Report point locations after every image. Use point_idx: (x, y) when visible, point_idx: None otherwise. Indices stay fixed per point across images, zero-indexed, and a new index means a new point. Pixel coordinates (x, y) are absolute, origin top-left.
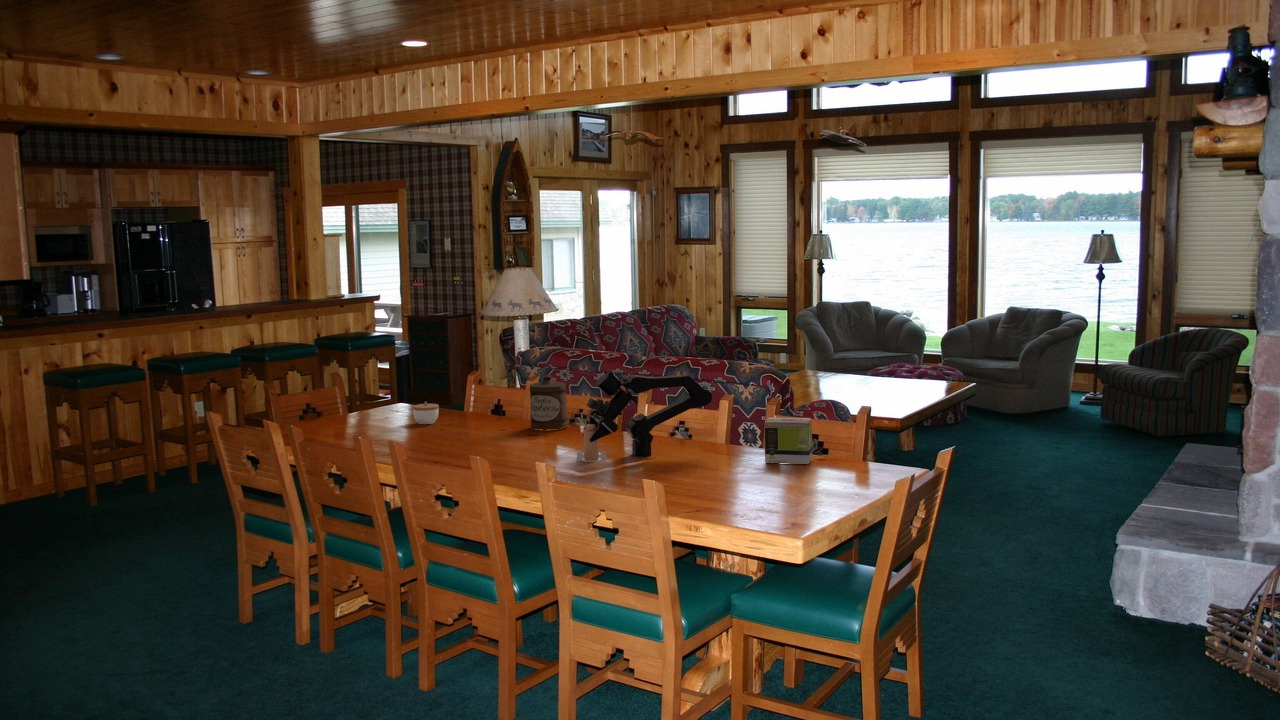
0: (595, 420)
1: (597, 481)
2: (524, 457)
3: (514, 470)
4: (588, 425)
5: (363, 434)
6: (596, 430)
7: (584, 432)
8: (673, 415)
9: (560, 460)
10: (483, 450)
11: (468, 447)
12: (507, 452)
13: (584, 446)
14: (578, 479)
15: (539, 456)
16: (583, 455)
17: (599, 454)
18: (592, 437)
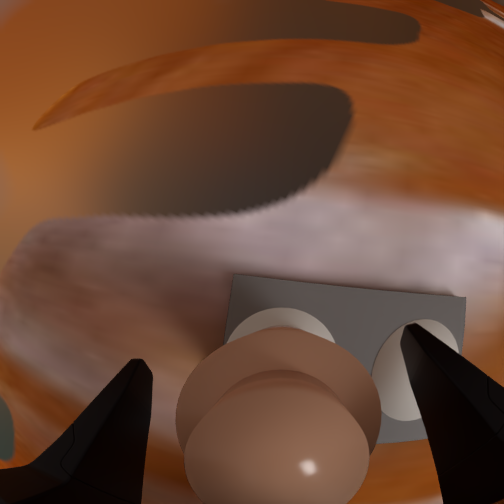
0: (498, 500)
1: (4, 305)
2: (416, 98)
3: (219, 64)
4: (225, 428)
5: (497, 12)
6: (59, 441)
7: (243, 337)
8: None
9: (362, 207)
10: (470, 56)
11: (484, 49)
12: (467, 83)
13: (265, 328)
14: (30, 253)
15: (436, 141)
16: (394, 328)
17: (388, 415)
18: (112, 388)
